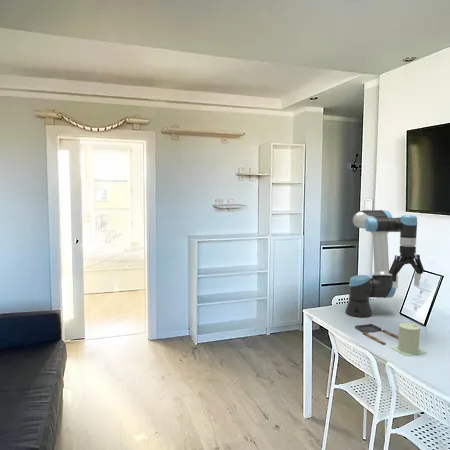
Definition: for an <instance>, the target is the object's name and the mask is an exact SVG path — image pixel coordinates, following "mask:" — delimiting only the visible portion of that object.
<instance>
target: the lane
mask: <svg viewBox="0 0 450 450" xmlns="http://www.w3.org/2000/svg"><path fill="white" fill-rule="evenodd" d="M381 332H383V333H385V334H386V335H388V336H390V337H392V338H395V339H397V340H399V335H396V334H394V333H392V332H391V331H388V330H386V329H381ZM361 333H362V335H363V336H366V337H367V338H370V339H372V340H373V341H376V342H377V343H379V344H381V345H382V346H384V345H386V342H384V341H383V340H381V339H379V338H377V337H376V336H373V335H371V334H369V333H366V332H361Z"/></svg>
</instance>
